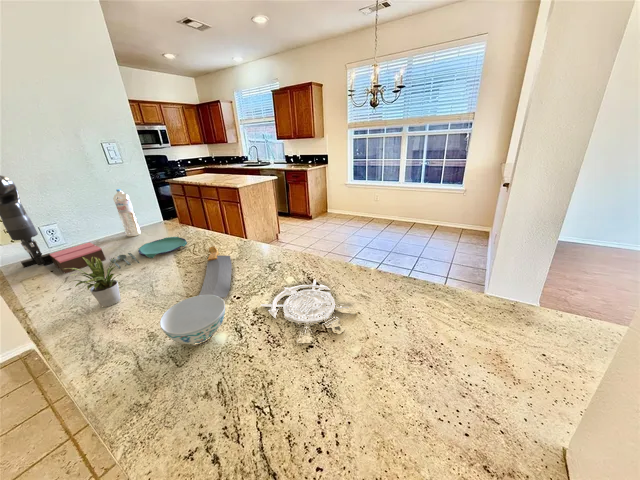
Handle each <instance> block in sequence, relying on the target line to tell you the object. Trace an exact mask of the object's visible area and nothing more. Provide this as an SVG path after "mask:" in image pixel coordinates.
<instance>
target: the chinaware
mask: <svg viewBox="0 0 640 480" xmlns="http://www.w3.org/2000/svg"><path fill="white" fill-rule="evenodd" d="M198 295H199V294H198ZM198 295H195V296H190V297H188V298H185V299H182V300H180V301H179V302H177V303H175V304H174V305H172V306H171V307H169V308H168V309H167V310H165V312H164V313H163V314H162V316H161V318H160V319H159V327H160V330H162V332H163V333H164V334H165V336H167V338H169V339H171V340H172V341H174V342H176V343H179V344H182V345H190V344H195V343H200V342H203V341H205V340H206V339H208V338H209V337H211V336H212V335H213V336H214V334H216V332H218V330H219V329H220V328H221V326H222V323H223V321H224V319H225V315H226V314H225V313H226V303H225V300H224V298H223V299H221V298H220V297H218V296H215V295H199V296H198ZM213 336H212V337H213Z"/></svg>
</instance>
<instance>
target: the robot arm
mask: <svg viewBox="0 0 640 480" xmlns="http://www.w3.org/2000/svg"><path fill="white" fill-rule="evenodd" d="M0 219H1V222H2V224H3V225H2V226H4V229H5V230H6V232H7V233H8V234H7V235H9V238H10V239H11V240H12V241H15V242H16V241H20V245H21V246H22V247H23V249H24V250H25V251H26V253H28V255H29V256H30V259H32V258H34V259H35V261H36V263H37V264H36V265H37V266H43V264H45V262H44V260H43V258H42V255H43V253H42V252H41V249H40V247H39V245H38V242H37V241H36V240H35V239H33V238H34V237H37V236H38V234H39V233H38V230H37V229H36V227H35V224H34V222H33V221H32V219H31V218H30V216H29V214H28V213H27V212H26V210H25V208H24V206H23V204H22V202H21V199H20V195H19V190H18V188H17V186H16V184H15V182H14V181H13V180H12V179H11V178H10V177H8V176H5V175H0Z"/></svg>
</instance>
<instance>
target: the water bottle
mask: <svg viewBox="0 0 640 480" xmlns="http://www.w3.org/2000/svg"><path fill="white" fill-rule="evenodd" d="M112 200H113V203H114V204H115V207H116V210H117V213H118V216H119V220H120V222H121V224H122V228H123V231H124V233H125V235H126V237H128V238H132V237H136V236H137V237H138V236H139V235H141V233H142V231H141V228H140V225H139V221H138V219H137V216H136V213H135V211H134V207H133V204H132V201H131V199H130V195H128V194H127V193H125V192H123V191H122V189H121V188H117V189H116V193H115V194H114V196H113V197H112Z"/></svg>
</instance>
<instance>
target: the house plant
mask: <svg viewBox="0 0 640 480" xmlns="http://www.w3.org/2000/svg"><path fill="white" fill-rule="evenodd" d="M82 258H83V259H84V260H85V261H86V263H87V265H88V266H87V267H88V268H89V269H90V271H91V273H88V272H86V271H83V270H81V269H75V268H65V269H72V270H74V271H79V272H80V273H74V274H70V277H72V276H74V275H75V276H76V277H78V276H79V275H81V276H83V277H85V278H88V280H80V279H74V280H73V282H78V283H76V284H75V286H74V288H76V287H78V286H79V285H81V284H84V285H83V287H84V286H87V290H89V291H90V293H91V294H92V296H93V297H94V298H95V300H96V301H97V302H98V304H99V305H100V306H101V307H102V306H103V307H102V308H107V307H106V306H108V307H112V306H114V305H116V304H118V303H119V302H120V301H121V300H120V299H122V298H121V292H120V287H119V282H118V280H116V277H119V276H123V274H121V273H119V274H117V275H116V276H115V273H111V272H112V271H113V270H114V269H115V268H118V267H117V266H116V265H115V264H114V263H115V262H116V261H115V262H114V263H112V261H110V263H109V265H108V268H107V271H106V273H105V268H104V263H103V261H101V260H100V259H99V258H98V260H99V261H98V260H97V258H95V259H96V262H95V263H94V260H93V257H92V258H91V262H90V261H89V260H88V259H86V258H84V257H82ZM113 258H115V256H114V257H113ZM113 258H112V260H113ZM116 260H117V262H118V261H119V259H116ZM117 262H116V263H117ZM91 263H92V264H91ZM113 264H114V265H115V266H113ZM105 274H106V276H105ZM118 301H119V302H118ZM117 302H118V303H117ZM115 303H116V304H115ZM113 304H114V305H113ZM111 305H112V306H111Z"/></svg>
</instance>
